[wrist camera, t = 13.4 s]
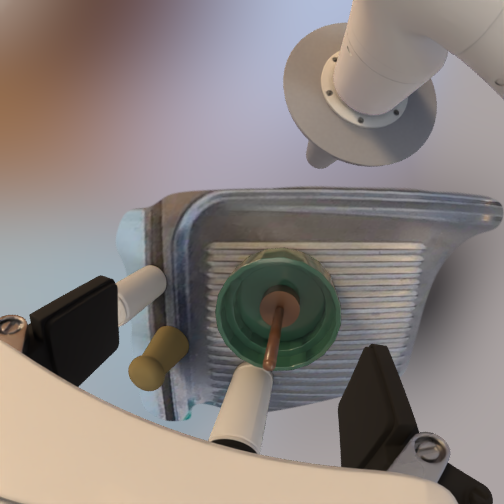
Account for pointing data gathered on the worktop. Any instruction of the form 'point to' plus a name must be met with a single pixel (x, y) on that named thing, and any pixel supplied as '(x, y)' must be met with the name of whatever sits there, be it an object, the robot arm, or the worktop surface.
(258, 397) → the travel mug
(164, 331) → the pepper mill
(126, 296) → the beverage can
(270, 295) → the brown rod with base
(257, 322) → the bowl
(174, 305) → the worktop surface
